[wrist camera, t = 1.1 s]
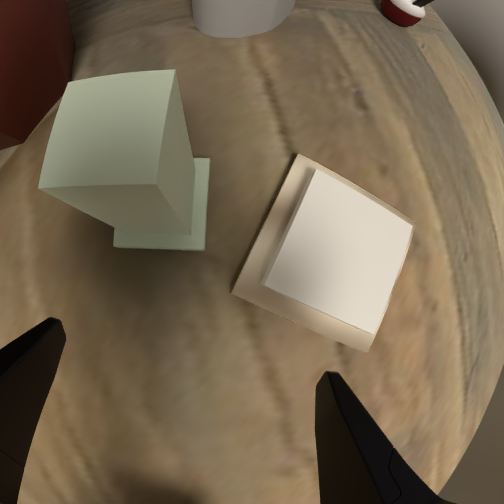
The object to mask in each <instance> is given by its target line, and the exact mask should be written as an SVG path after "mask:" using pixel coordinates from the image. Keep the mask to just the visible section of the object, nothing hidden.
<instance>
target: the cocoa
mask: <svg viewBox="0 0 504 504" xmlns="http://www.w3.org/2000/svg"><path fill="white" fill-rule="evenodd" d="M432 1H434V0H382V2H381V7H382V11H383V13H384V14H385V15H386V17H387V18H388V19H389V20H391V21H392V22H394V23H396V24H397V25H401V26H404V27H406V26H413V25H414V24H416V23H418V22H419V21H420V20H421V19H422V18H423V17H424V16H425V11H424V6H425V5H426V4H428V3H430V2H432Z"/></svg>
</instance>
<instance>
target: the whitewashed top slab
mask: <svg viewBox="0 0 504 504" xmlns="http://www.w3.org/2000/svg"><path fill="white" fill-rule="evenodd" d="M412 227H413V226H412V225H410V224H409V223H407V222H406V221H404V220H403V219H401V218H400V217H398V216H397V215H395V214H394V213H392V212H390V211H389V210H387V209H386V208H384V207H382V206H381V205H379V204H377V203H376V202H374V201H373V200H371V199H369V198H368V197H366V196H364V195H363V194H361V193H359V192H357V191H356V190H354V189H352V188H351V187H349V186H347V185H345V184H343V183H342V182H340V181H338V180H336V179H335V178H333V177H331V176H329V175H327V174H325V173H324V172H322V171H320V170H318V169H316V170H315V171H314V172H313V173H312V174H311V175H310V177H309V178H308V180H307V182H306V185H305V187H304V189H303V191H302V194H301V196H300V198H299V200H298V203H297V205H296V207H295V209H294V212H293V214H292V216H291V218H290V220H289V223H288V225H287V227H286V229H285V231H284V234H283V236H282V238H281V240H280V242H279V245H278V247H277V249H276V251H275V253H274V255H273V258H272V260H271V262H270V264H269V266H268V268H267V271H266V273H265V275H264V277H263V279H262V281H261V284H260V285H263V286H265V287H267V288H269V289H271V290H273V291H275V292H278V293H280V294H282V295H284V296H286V297H288V298H291V299H293V300H295V301H297V302H299V303H301V304H304V305H306V306H308V307H310V308H312V309H315V310H317V311H319V312H321V313H324V314H326V315H328V316H330V317H332V318H335V319H337V320H339V321H341V322H344V323H346V324H348V325H350V326H353V327H355V328H357V329H360V330H362V331H365V332H368V333H371V334H374V333H375V331H376V329H377V326H378V324H379V322H380V319H381V317H382V314H383V312H384V309H385V307H386V304H387V302H388V299H389V297H390V294H391V291H392V288H393V286H394V283H395V280H396V277H397V275H398V272H399V269H400V266H401V263H402V260H403V257H404V253H405V250H406V247H407V244H408V241H409V237H410V234H411V230H412Z"/></svg>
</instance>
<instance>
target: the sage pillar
mask: <svg viewBox="0 0 504 504" xmlns="http://www.w3.org/2000/svg"><path fill="white" fill-rule="evenodd" d="M209 175H210V158H193V155H192V150H191V145H190V141H189V136H188V131H187V126H186V121H185V117H184V112H183V107H182V101H181V96H180V91H179V86H178V81H177V75H176V70H155V71H142V72H131V73H122V74H114V75H107V76H100V77H94V78H88V79H83V80H77V81H72V82H68V85H67V87H66V90H65V92H64V95H63V98H62V101H61V103H60V106H59V109H58V112H57V115H56V118H55V122H54V125H53V128H52V132H51V135H50V139H49V142H48V146H47V150H46V154H45V158H44V162H43V167H42V171H41V176H40V181H39V186H38V189H40V190H42V191H44V192H46V193H48V194H49V195H51V196H53V197H55V198H57V199H59V200H61V201H63V202H65V203H67V204H69V205H71V206H73V207H75V208H77V209H78V210H80V211H82V212H84V213H86V214H88V215H90V216H92V217H94V218H96V219H98V220H100V221H102V222H104V223H106V224H108V225H110V226H112V227H114V228H115V229H114V241H113V246H114V247H118V248H139V249H167V250H195V251H205V244H206V223H207V205H208V189H209Z"/></svg>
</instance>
